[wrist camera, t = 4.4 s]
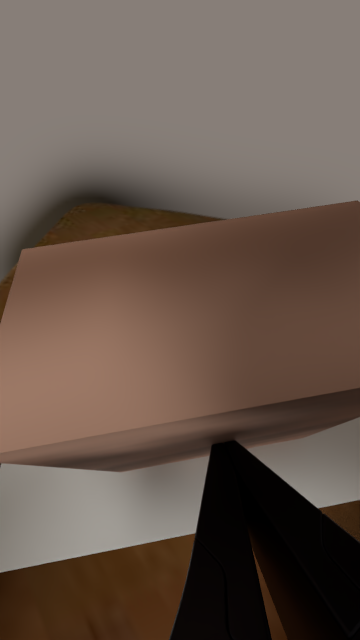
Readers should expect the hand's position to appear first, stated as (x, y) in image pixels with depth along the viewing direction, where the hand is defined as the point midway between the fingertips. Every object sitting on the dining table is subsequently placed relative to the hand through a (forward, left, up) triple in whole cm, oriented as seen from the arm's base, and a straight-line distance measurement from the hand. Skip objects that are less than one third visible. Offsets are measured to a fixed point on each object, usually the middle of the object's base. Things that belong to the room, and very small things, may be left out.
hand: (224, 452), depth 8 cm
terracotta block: (+2, +2, -5) cm, 5 cm away
